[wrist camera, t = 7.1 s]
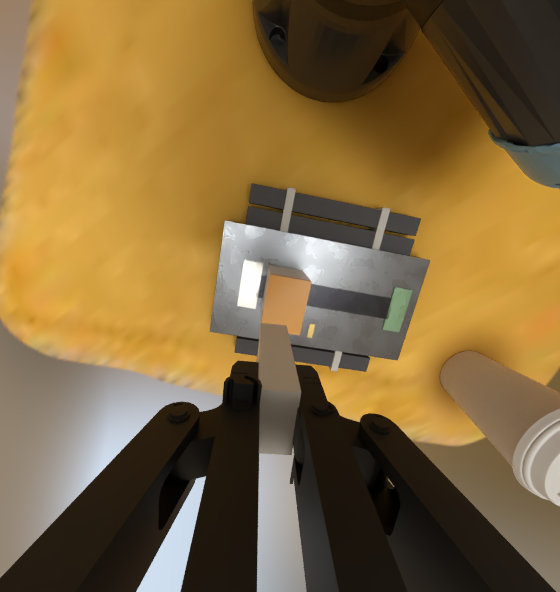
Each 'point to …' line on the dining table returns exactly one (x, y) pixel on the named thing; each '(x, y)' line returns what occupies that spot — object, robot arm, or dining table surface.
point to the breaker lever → (285, 298)
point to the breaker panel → (319, 290)
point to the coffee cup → (510, 417)
